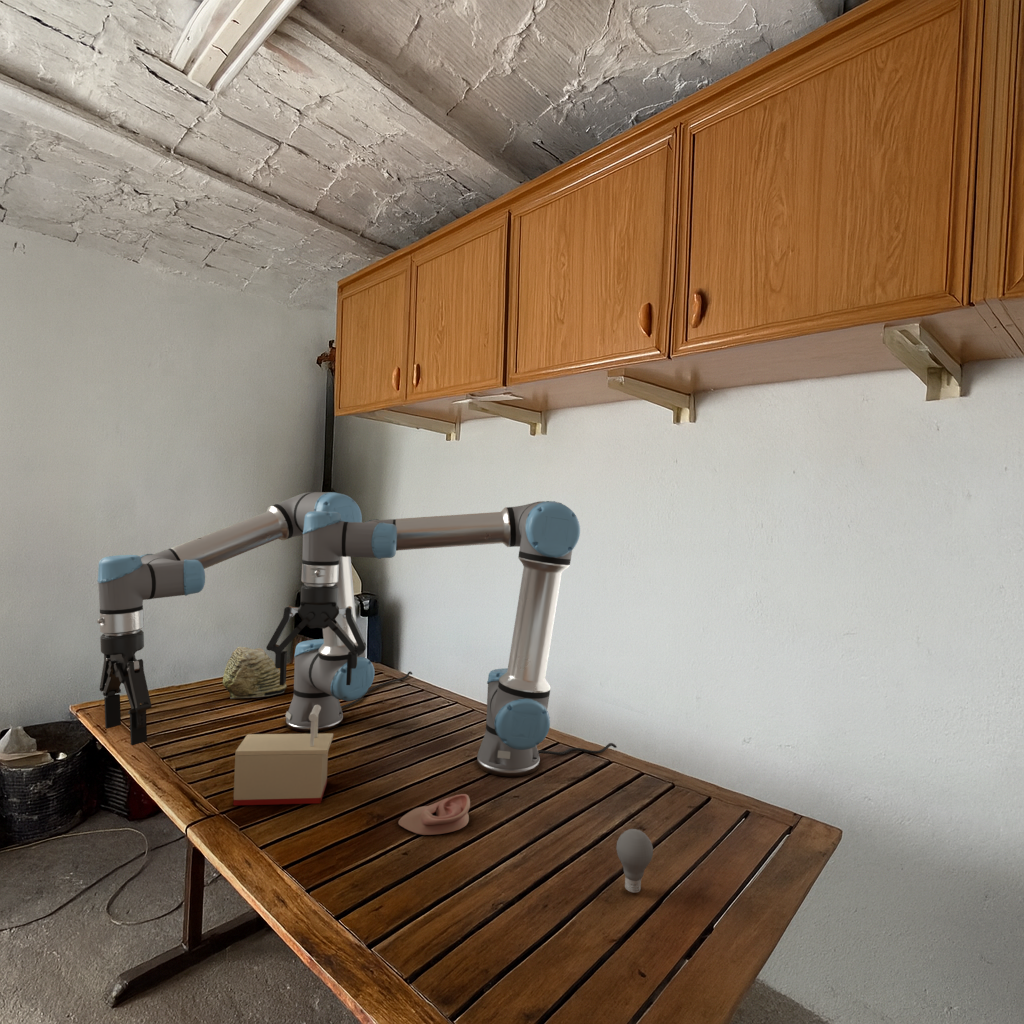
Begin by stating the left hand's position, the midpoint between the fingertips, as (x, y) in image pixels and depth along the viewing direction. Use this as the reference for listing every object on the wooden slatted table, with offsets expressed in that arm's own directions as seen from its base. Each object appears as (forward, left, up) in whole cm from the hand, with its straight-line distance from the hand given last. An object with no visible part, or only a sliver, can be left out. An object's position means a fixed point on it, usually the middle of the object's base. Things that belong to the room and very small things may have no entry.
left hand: (125, 734), depth 130 cm
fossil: (-53, -43, -13) cm, 69 cm away
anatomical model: (-37, +53, -13) cm, 66 cm away
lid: (-23, +22, -3) cm, 32 cm away
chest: (-23, +21, -13) cm, 34 cm away
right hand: (-27, +25, +11) cm, 39 cm away
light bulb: (-44, +93, -13) cm, 104 cm away
